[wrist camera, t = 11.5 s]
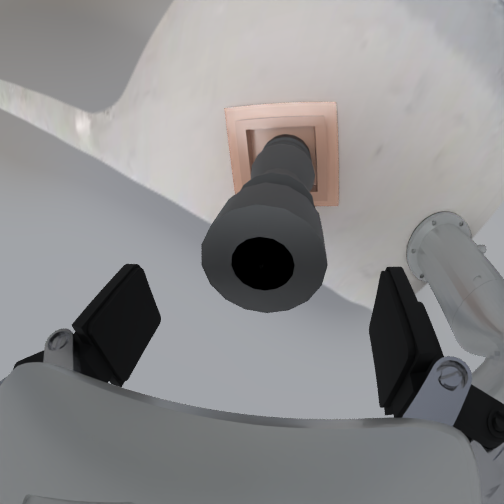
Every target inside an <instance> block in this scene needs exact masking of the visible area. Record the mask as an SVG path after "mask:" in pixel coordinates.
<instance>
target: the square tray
mask: <svg viewBox="0 0 504 504" xmlns="http://www.w3.org/2000/svg"><path fill="white" fill-rule="evenodd" d="M224 110H225V118H226V126H227V134H228V142H229V150H230V158H231V166H232V174H233V182H234V189H235V194H237V193H238V192H239V191H240V190H241V188H242V187H243V185H244V184H245V183H247V182H248V181H249V180H251V169H252V164H253V162H254V161H255V159H256V157H257V155H258V154H259V153H260V152H262V150H263V148H264V146H265V145H266V144H267V142H268V141H270V140H271V139H272V138H274V137H275V136H278V135H282V134H289V135H295V136H297V137H298V138H300V139H302V140H303V141H304V142H305V144H306V145H307V146H308V148H309V151H310V155H311V159H312V165H313V169H314V173H315V178H314V184H313V188H312V189H311V191H310V193H311V195H312V197H313V201H314V206H338V200H339V157H338V126H337V108H336V102H288V103H271V104H258V105H248V106H238V107H230V108H224Z"/></svg>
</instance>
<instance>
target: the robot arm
mask: <svg viewBox="0 0 504 504" xmlns="http://www.w3.org/2000/svg"><path fill="white" fill-rule="evenodd" d="M485 252H486V247H485V245H477V244H476V243H475V242H474V241H473V240H472V239H471V232H470V229H469V226H468V224H467V223H466V222H465V220H463V219H462V218H461V217H460V216H458V215H457V214H455V213H452V212H440V213H437V214H434V215H432V216H430V217H428V218H427V219H425V220H424V221H423V222H422V223H421V224H420V225H419V226H418V227H417V228H416V230H415V231H414V233H413V235H412V236H411V239H410V241H409V244H408V248H407V262H408V265H409V268H410V270H411V271H412V273H413V274H414V275H415V277H416V278H418V279H419V280H421V281H424V282H428V283H429V285H430V287H431V289H432V290H433V292H434V294H435V296H436V298H437V300H438V302H439V304H440V306H441V308H442V310H443V312H444V314H445V316H446V318H447V321H448V323H449V325H450V327H451V329H452V332H453V333H454V336H455V338H456V340H457V342H458V343H459V345H460V346H461V347H462V348H463V349H464V350H465V351H467V352H469V353H472V354H474V355H478V356H483V357H486V359H485V361H484V362H483V363H482V364H481V365H480V366H479V367H478V368H477V369H476V370H475V371H474V372H473V373H471V370H470V368H469V367H468V365H467V364H466V363H465V362H464V361H462V360H461V359H459V358H456V357H450V356H447V357H444V356H443V353H442V350H441V347H440V345H439V342H438V339H437V337H436V334H435V331H434V329H433V326H432V324H431V321H430V319H429V316H428V314H427V312H426V309H425V307H424V305H423V303H421V302H418V301H417V298H416V296H415V294H414V292H413V289H412V287H411V285H410V283H409V280H408V278H407V276H406V274H405V272H404V270H403V268H402V267H387V268H386V270H385V271H382V272H381V274H380V279H379V285H378V290H377V295H376V299H375V304H374V309H373V313H372V317H371V321H370V326H369V334H370V340H371V346H372V352H373V358H374V365H375V372H376V379H377V387H378V396H379V403H380V407H384V409H385V415H392V414H394V418H365V419H294V418H278V417H266V416H255V415H246V414H239V413H231V412H224V411H218V410H212V409H206V408H201V407H195V406H190V405H186V404H180V403H176V402H172V401H168V400H164V399H160V398H156V397H152V396H148V395H145V394H141V393H137V392H134V391H131V390H127V389H124V388H121V387H122V385H123V383H124V382H125V381H127V380H128V379H129V377H130V375H131V373H132V371H133V369H134V368H135V366H136V364H137V362H138V361H139V359H140V357H141V355H142V353H143V352H144V350H145V348H146V346H147V345H148V343H149V341H150V340H151V338H152V336H153V334H154V333H155V331H156V329H157V328H158V326H159V324H160V321H161V316H160V313H159V311H158V308H157V306H156V303H155V300H154V298H153V295H152V292H151V290H150V287H149V284H148V281H147V278H146V275H145V273H144V270H143V269H142V268H141V267H140V266H139V265H138V264H126V265H124V266H123V267H122V268H121V269H120V271H119V272H118V273H117V274H116V275H115V276H114V277H113V278H112V279H111V280H110V281H109V282H108V284H107V285H106V286H105V287H104V288H103V289H102V290H101V291H100V292H99V294H98V295H97V296H96V297H95V298H94V300H92V302H91V303H90V304H89V305H88V306H87V307H86V309H85V310H84V311H83V312H82V313H81V315H80V316H79V317H78V318H77V319H76V320H75V322H74V323H73V324H72V327H73V328H74V330H75V333H74V334H73V333H72V332H71V331H70V330H69V329H59V330H57V331H55V332H54V333H52V334H51V335H50V336H49V337H48V339H47V341H46V343H45V350H44V351H42V352H39V353H37V354H34V355H32V356H30V357H27V358H25V359H23V360H20V361H18V362H17V363H16V364H15V366H14V369H13V371H12V372H11V373H10V374H9V375H8V376H7V377H6V378H4V379H3V380H2V381H0V504H504V279H503V278H502V276H501V275H500V274H499V272H498V271H497V270H496V269H495V268H494V266H493V265H492V264H491V263H490V261H489V260H488V259H487V258H486V257H485V256H484V254H483V253H485ZM108 381H110V383H111V384H109V383H108ZM112 384H113V385H112ZM115 385H116V386H115ZM118 386H119V387H118Z"/></svg>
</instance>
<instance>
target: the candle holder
mask: <svg viewBox="0 0 504 504" xmlns="http://www.w3.org/2000/svg"><path fill="white" fill-rule="evenodd" d="M314 178H315V173H314V169H313V165H312V159H311V155H310V151H309V148H308V146H307V145H306V144H305V142H304V141H303V140H302V139H300V138H298V137H297V136H295V135H289V134H282V135H278V136H275V137H274V138H272V139H271V140H270V141H268V142H267V144H266V145H265V146H264V148H263V150H262V152H260V153H259V154H258V155H257V157H256V159H255V161H254V162H253V164H252V169H251V180H249V181H248V182H247V183H245V184H244V185H243V187H242V188H241V190H240V191H239V192H238V193H237V194H235V195H234V196H233V197H231V198H230V199H229V200H228V201H227V203H226V204H225V206H224V207H223V209H222V210H221V211H220V213H219V214H218V216H217V217H216V219H215V220H214V222H213V223H212V225H211V227H210V229H209V230H208V233H207V235H206V237H205V239H204V241H203V243H202V267H203V269H204V271H205V273H206V276H207V278H208V280H209V282H210V284H211V285H212V286H213V287H214V288H215V289H216V290H217V291H218V292H219V293H220V294H221V295H222V296H223V297H224V298H225V299H226V300H228V301H230V302H232V303H234V304H236V305H238V306H240V307H242V308H244V309H247V310H253V311H259V312H265V313H270V312H278V311H286V310H290V309H292V308H294V307H296V306H298V305H300V304H302V303H304V302H306V301H308V300H309V299H310V298H311V297H312V295H313V294H314V293H315V292H316V291H317V290H318V289H319V288H320V286H321V285H322V282H323V279H324V275H325V272H326V269H327V258H326V251H325V244H324V237H323V231H322V226H321V221H320V217H319V213H318V212H317V210H316V209H315V206H314V201H313V197H312V195H311V193H310V191H311V189H312V188H313V184H314Z"/></svg>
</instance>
